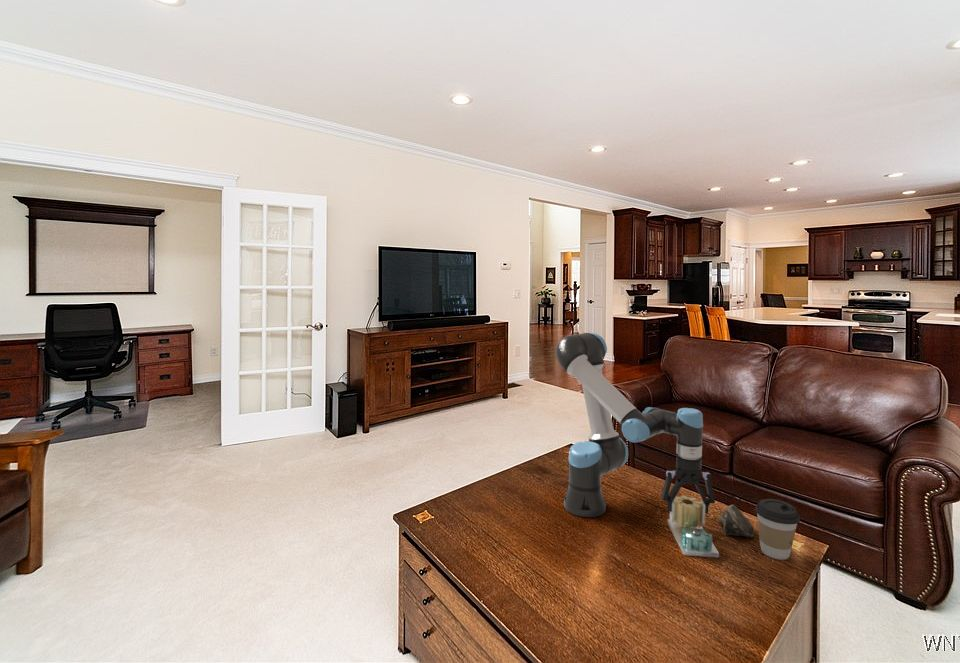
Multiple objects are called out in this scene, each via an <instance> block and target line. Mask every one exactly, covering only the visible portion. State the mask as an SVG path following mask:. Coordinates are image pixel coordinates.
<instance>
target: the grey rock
mask: <svg viewBox="0 0 960 663" xmlns="http://www.w3.org/2000/svg"><path fill="white" fill-rule="evenodd" d="M718 523H720V524H722V527H723V528H722V531H723V535H724V536H730V535H733V536H735V537H737V536H743V537H745V538H747V539H750V538H753V537H755V529H754V526H753V525H752V523H751V521H750V519H749V518H748V517H746V516H745V515H744V513H743V512H742V511H741V510H740V509H739V508H738V507H737V506H736V505H735V504H730V505H729V506H728V507H727V508H726V509H725V510H724V512H722V514H721V515H720V516H719V519H718Z"/></svg>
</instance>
